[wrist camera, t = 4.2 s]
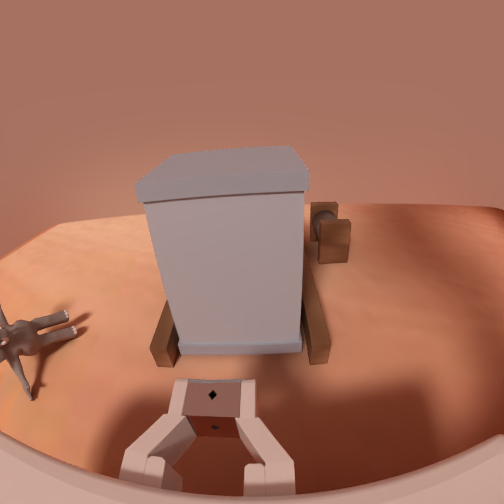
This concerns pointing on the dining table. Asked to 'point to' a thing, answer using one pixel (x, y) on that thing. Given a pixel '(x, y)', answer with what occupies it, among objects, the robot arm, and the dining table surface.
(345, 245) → the bay
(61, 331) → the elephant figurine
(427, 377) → the dining table surface
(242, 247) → the gray rectangular block
